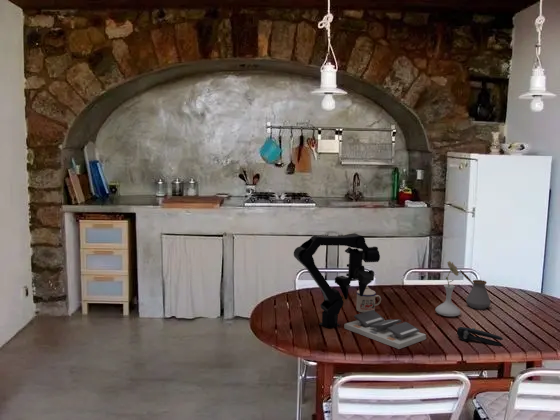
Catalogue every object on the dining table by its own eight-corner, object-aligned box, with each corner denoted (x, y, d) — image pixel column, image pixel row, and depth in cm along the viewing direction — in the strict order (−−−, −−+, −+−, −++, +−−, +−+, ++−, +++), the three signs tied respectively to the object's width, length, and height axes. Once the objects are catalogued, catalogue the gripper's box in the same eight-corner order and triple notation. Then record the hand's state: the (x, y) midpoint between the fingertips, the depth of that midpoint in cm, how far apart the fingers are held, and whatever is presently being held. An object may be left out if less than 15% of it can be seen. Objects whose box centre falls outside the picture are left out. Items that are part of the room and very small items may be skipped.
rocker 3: (400, 338, 214) (401, 335, 213) (386, 329, 219) (387, 327, 219) (418, 331, 221) (419, 329, 221) (405, 323, 226) (406, 321, 226)
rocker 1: (365, 326, 228) (366, 324, 227) (354, 316, 232) (354, 314, 232) (383, 321, 235) (384, 318, 235) (372, 311, 240) (373, 309, 240)
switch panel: (398, 349, 210) (399, 340, 210) (344, 328, 232) (344, 320, 232) (425, 339, 221) (426, 331, 221) (371, 320, 244) (371, 313, 243)
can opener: (454, 341, 221) (455, 327, 220) (457, 335, 227) (458, 322, 226) (501, 349, 213) (502, 335, 212) (503, 343, 219) (504, 330, 218)
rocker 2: (383, 327, 220) (382, 325, 220) (370, 327, 226) (369, 325, 226) (401, 322, 228) (401, 319, 228) (388, 321, 233) (388, 319, 233)
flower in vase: (461, 319, 247) (465, 265, 244) (435, 317, 249) (439, 264, 246) (458, 310, 260) (461, 259, 257) (433, 308, 262) (436, 258, 259)
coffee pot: (495, 309, 263) (497, 279, 261) (475, 311, 260) (477, 280, 258) (467, 297, 283) (469, 269, 281) (448, 298, 280) (450, 270, 278)
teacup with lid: (359, 313, 252) (360, 289, 251) (353, 307, 261) (354, 284, 260) (383, 313, 254) (384, 288, 253) (377, 307, 263) (378, 283, 262)
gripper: (353, 269, 224) (351, 305, 226) (384, 264, 235) (382, 299, 237) (334, 263, 232) (333, 299, 234) (365, 259, 244) (363, 293, 245)
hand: (353, 297), depth 237 cm, fingers open, 9 cm apart
